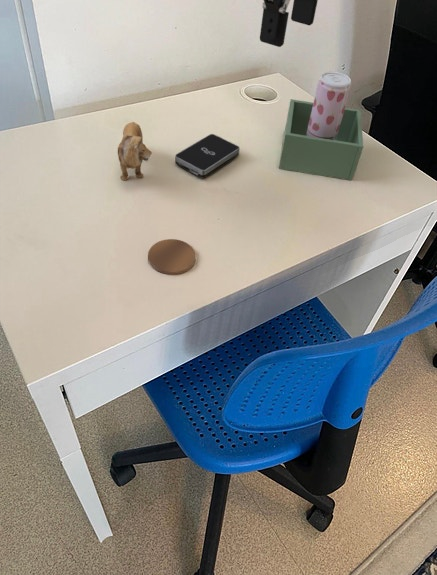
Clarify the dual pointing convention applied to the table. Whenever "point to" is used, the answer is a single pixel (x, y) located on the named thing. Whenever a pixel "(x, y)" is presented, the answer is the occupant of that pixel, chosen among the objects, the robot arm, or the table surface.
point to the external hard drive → (207, 155)
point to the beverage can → (329, 105)
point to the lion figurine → (132, 150)
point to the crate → (321, 144)
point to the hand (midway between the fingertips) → (287, 32)
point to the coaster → (171, 256)
